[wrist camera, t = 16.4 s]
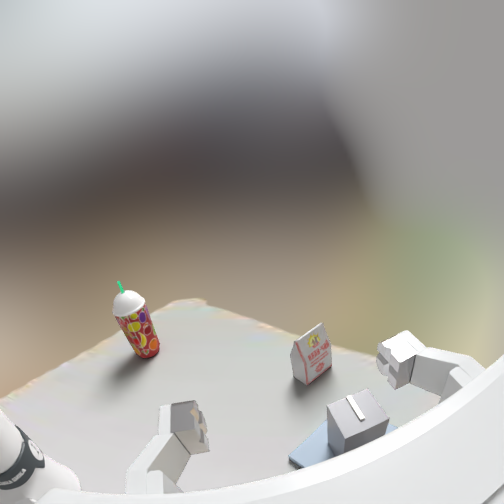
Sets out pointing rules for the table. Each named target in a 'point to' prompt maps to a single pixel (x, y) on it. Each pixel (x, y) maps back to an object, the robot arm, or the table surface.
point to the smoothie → (136, 322)
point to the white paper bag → (311, 355)
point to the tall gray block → (355, 422)
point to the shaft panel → (318, 447)
